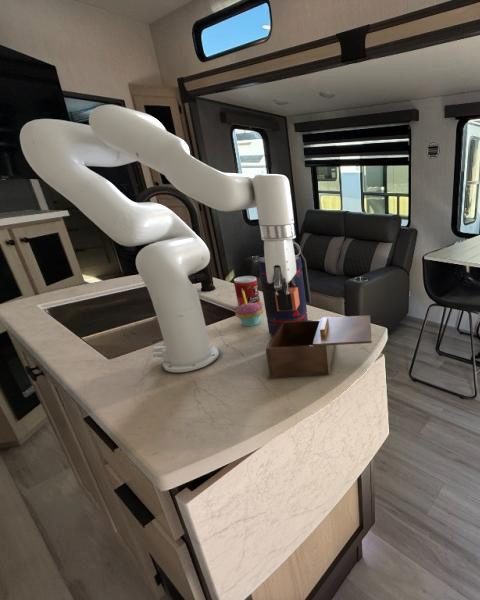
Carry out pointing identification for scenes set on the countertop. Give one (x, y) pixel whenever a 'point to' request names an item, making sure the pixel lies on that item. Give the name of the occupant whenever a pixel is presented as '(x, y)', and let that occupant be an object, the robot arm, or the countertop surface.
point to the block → (294, 296)
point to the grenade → (269, 291)
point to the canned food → (247, 289)
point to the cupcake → (249, 312)
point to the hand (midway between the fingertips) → (288, 305)
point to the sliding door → (343, 330)
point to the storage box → (297, 351)
